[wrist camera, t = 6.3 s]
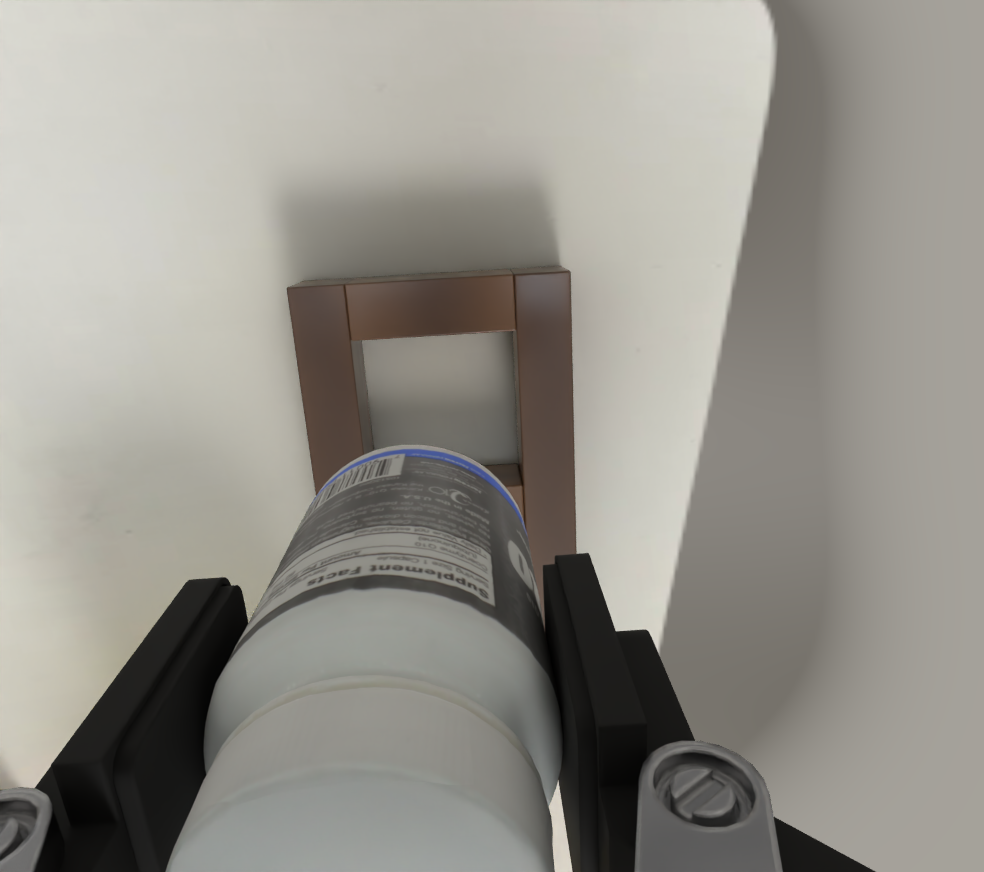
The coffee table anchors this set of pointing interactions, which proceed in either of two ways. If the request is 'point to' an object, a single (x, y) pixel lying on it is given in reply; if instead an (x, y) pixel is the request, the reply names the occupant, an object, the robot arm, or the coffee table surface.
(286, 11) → the coffee table surface
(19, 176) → the coffee table surface
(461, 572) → the pill bottle
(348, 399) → the holder
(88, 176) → the coffee table surface
